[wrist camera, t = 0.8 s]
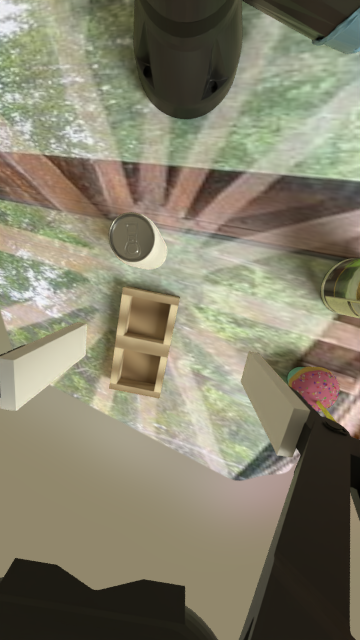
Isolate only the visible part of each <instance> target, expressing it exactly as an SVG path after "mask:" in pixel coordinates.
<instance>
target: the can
mask: <svg viewBox="0 0 360 640" xmlns="http://www.w3.org/2000/svg"><path fill="white" fill-rule="evenodd" d="M109 243H110V246H111V248H112V250H113V252H114V254H115V255H116V256H117V258H118V259H119V260H121V261H122V262H123V263H125V264H127V265H130V266H133V267H137V268H142V269H147V270H151V269H156V268H158V267H160V266H161V265H162V264H163V263H164V261H165V259H166V256H167V246H166V243H165V241H164V239H163V237H162V236H161V234H160V232H159V230H158V229H157V227H156V226H155V224H154V223H153V222H152V221H151V220H150V219H149V218H148V217H146V216H144V215H142V214H138V213H132V212H129V213H124V214H121V215H120V216H118V217H117V218H116V219H115V220H114V221H113V222H112V224H111V226H110V229H109Z"/></svg>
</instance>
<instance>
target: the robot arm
mask: <svg viewBox="0 0 360 640" xmlns="http://www.w3.org/2000/svg"><path fill="white" fill-rule="evenodd" d="M243 1H244V2H246V3H247V4H249V5H251V6H253V7H255V8H256V9H258V10H260V11H262V12H264V13H265V14H267V15H269V16H271V17H272V18H274V19H276V20H278V21H280V22H281V23H283V24H285V25H287V26H289V27H290V28H292V29H294V30H296V31H297V32H299V33H301V34H303V35H305V36H306V37H308V38H310V39H312V43H313V44H314V45H316V46H320V45H323V44H324V45H326V46H329V47H331V48H333V49H336V50H338V51H340V52H343V53H345V54H353V53H357V52H359V51H360V0H243ZM242 36H243V30H242V0H135V6H134V32H133V44H134V54H135V60H136V64H137V69H138V73H139V77H140V80H141V83H142V86H143V88H144V90H145V92H146V94H147V96H148V97H149V99H150V100H151V101H152V102H153V104H154V105H155V106H156V107H157V108H159V109H160V110H161V111H162V112H164V113H166V114H167V115H170V116H172V117H175V118H180V119H192V118H197V117H200V116H203V115H205V114H207V113H208V112H210V111H211V110H213V109H214V108H215V107H216V106H217V105H219V103H220V102H221V101H222V100H223V99H224V97H225V96H226V95H227V93H228V91H229V89H230V88H231V85H232V83H233V81H234V78H235V75H236V71H237V67H238V62H239V58H240V54H241V47H242ZM86 334H87V324H86V323H80V322H77V323H74V324H72V325H70V326H68V327H65V328H63V329H61V330H59V331H56V332H54V333H52V334H50V335H47V336H45V337H43V338H41V339H38V340H36V341H34V342H32V343H29V344H27V345H23V346H20V347H18V348H15V349H13V350H11V351H8V352H7V353H4V354H1V355H0V405H1V408H2V409H8V410H13V411H17V410H18V409H19V408H20V407H22V406H23V405H24V404H25V403H27V402H28V401H29V400H30V399H32V398H33V397H34V396H35V395H37V394H38V393H39V392H40V391H41V390H43V389H44V388H45V387H47V386H48V385H49V384H50V383H52V382H53V381H54V380H55V379H57V378H58V377H59V376H60V375H62V374H63V373H64V372H65V371H67V370H68V369H69V368H70V367H72V366H73V365H74V364H75V363H76V362H78V361H79V360H80V359H81V358H83V357H84V356H85V355H86ZM241 383H242V385H243V387H244V389H245V391H246V393H247V395H248V397H249V399H250V401H251V403H252V405H253V407H254V409H255V411H256V413H257V416H258V418H259V420H260V422H261V424H262V426H263V428H264V430H265V432H266V434H267V436H268V438H269V440H270V442H271V444H272V446H273V448H274V450H275V452H276V454H277V455H280V456H286V457H293V454H294V452H295V449H296V448H297V450H298V451H299V453H300V454H301V456H300V458H299V461H298V463H297V466H296V468H295V471H294V476H293V479H292V482H291V485H290V488H289V492H288V494H287V497H286V500H285V503H284V506H283V509H282V512H281V515H280V519H279V521H278V524H277V527H276V530H275V534H274V537H273V540H272V543H271V546H270V549H269V552H268V555H267V558H266V561H265V564H264V567H263V570H262V573H261V576H260V579H259V582H258V585H257V588H256V591H255V595H254V597H253V600H252V603H251V606H250V609H249V612H248V615H247V618H246V621H245V624H244V627H243V630H242V632H241V635H240V638H239V640H355V638H353V636H352V635H351V633H350V493H351V496H352V499H353V502H354V505H355V508H356V511H357V514H358V517H359V520H360V440H358V439H356V438H353V437H351V436H350V434H349V432H348V431H347V430H346V429H345V428H344V427H343V426H341V425H340V424H338V423H337V422H335V421H333V420H331V419H328V418H326V417H321V416H320V415H319V414H318V413H317V412H316V410H315V409H314V408H313V407H312V406H311V405H310V404H308V402H307V401H306V400H305V399H304V398H303V397H302V395H301V394H300V393H299V392H297V391H296V390H295V389H293V388H292V387H289V386H288V385H287V384H286V383H285V382H284V381H283V380H282V379H281V378H280V376H279V375H278V374H277V373H276V372H275V371H274V370H273V369H272V367H271V366H270V365H269V364H268V363H267V362H266V361H265V360H264V359H263V357H262V356H261V355H260V354H259V353H256V352H250V351H249V353H248V357H247V361H246V364H245V368H244V372H243V375H242V379H241ZM0 640H218V639H217V638H216V636H215V635H214V633H213V632H212V630H211V629H210V628H209V627H208V626H207V625H206V623H205V622H204V621H203V620H202V619H201V618H200V617H199V616H198V615H197V614H196V613H195V612H193V611H192V610H191V609H190V608H188V607H187V606H185V586H181V585H174V584H169V583H162V582H156V581H151V580H145V579H143V580H139V581H135V582H130V583H127V584H122V585H118V586H114V587H110V588H106V589H102V590H93V589H91V588H90V587H88V586H87V585H85V584H84V583H82V582H81V581H79V580H78V579H77V578H75V577H74V576H72V575H71V574H69V573H68V572H66V571H65V570H64V569H62V568H61V567H59V566H58V565H54V564H48V563H42V562H36V561H30V560H24V559H18V558H15V559H14V561H13V563H12V564H11V566H10V568H9V569H8V571H7V573H6V574H5V576H4V577H2V578H0Z"/></svg>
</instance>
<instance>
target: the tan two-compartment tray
mask: <svg viewBox="0 0 360 640" xmlns="http://www.w3.org/2000/svg"><path fill="white" fill-rule="evenodd" d="M179 299H180V297H177V296H172V295H167V294H162V293H157V292H152V291H148V290H143V289H138V288H133V287H123V291H122V298H121V305H120V313H119V320H118V327H117V335H116V342H115V349H114V357H113V364H112V371H111V379H110V386H109V389H114V390H119V391H124V392H130V393H135V394H140V395H145V396H150V397H155V398H159V397H160V392H161V388H162V383H163V378H164V373H165V368H166V363H167V358H168V353H169V348H170V343H171V339H172V334H173V329H174V324H175V319H176V314H177V309H178V304H179Z"/></svg>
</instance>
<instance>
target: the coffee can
mask: <svg viewBox="0 0 360 640" xmlns="http://www.w3.org/2000/svg"><path fill="white" fill-rule="evenodd" d="M321 297H322V300H323V302H324V304H325V305H326V307H327V308H328V309H330V310H331V311H332V312H334V313H337V314H343V315H348V316H352V317H356V318H360V258H351V259H346V260H343V261H341V262H339V263H338V264H336V265H335V266H334V267H332V268H331V269H330V270H329V272H328V273H327V274H326V276H325V278H324V280H323V282H322V286H321Z"/></svg>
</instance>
